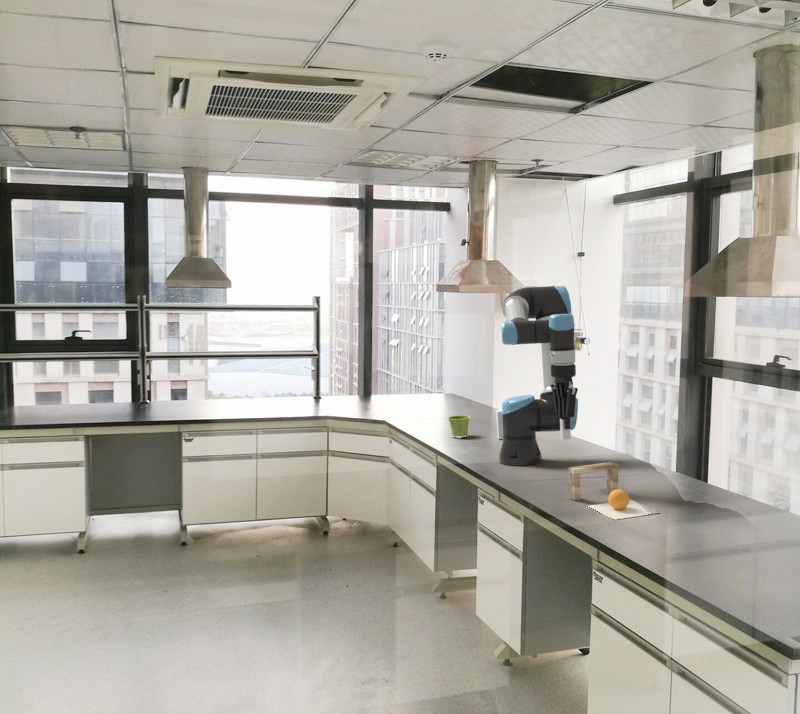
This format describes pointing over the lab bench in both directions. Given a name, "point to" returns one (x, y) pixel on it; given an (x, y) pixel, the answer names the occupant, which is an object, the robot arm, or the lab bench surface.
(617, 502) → the ball
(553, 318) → the robot arm
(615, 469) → the bridge
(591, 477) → the lab bench surface
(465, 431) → the plant pot
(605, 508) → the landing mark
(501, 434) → the skincare box
